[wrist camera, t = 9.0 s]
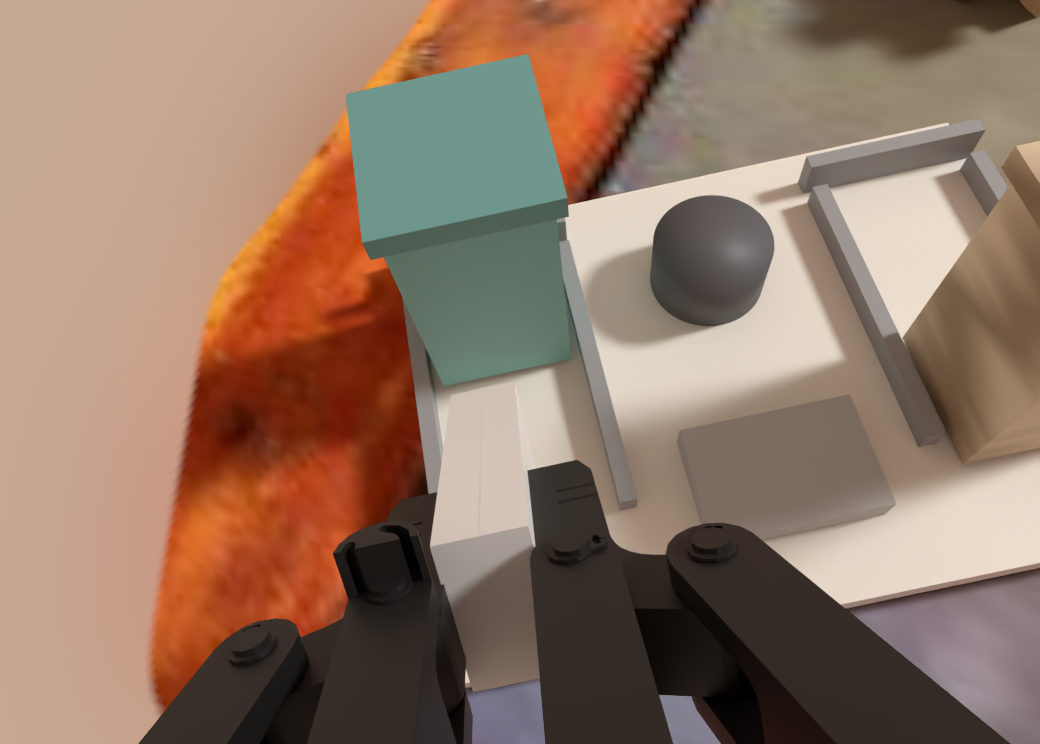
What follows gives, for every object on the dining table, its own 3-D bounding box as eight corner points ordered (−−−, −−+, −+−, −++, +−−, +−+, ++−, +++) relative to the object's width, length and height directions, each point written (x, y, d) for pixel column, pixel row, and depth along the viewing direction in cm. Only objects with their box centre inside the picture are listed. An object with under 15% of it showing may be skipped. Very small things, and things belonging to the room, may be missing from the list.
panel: (407, 262, 34) (383, 206, 31) (934, 147, 34) (971, 78, 30) (467, 687, 26) (445, 677, 23) (1162, 542, 26) (1248, 509, 22)
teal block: (418, 275, 32) (345, 94, 23) (550, 246, 32) (528, 54, 23) (436, 394, 29) (361, 242, 20) (580, 364, 29) (567, 197, 20)
